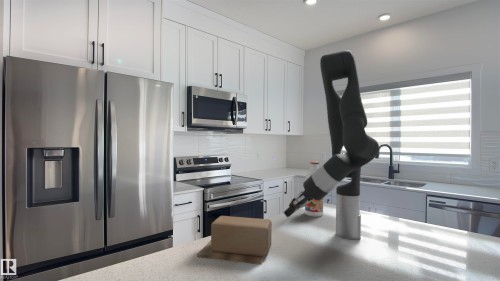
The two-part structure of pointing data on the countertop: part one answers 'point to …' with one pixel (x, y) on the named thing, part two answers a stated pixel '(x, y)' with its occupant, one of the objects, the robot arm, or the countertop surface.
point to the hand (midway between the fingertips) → (286, 214)
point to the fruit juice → (314, 206)
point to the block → (241, 235)
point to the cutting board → (228, 256)
